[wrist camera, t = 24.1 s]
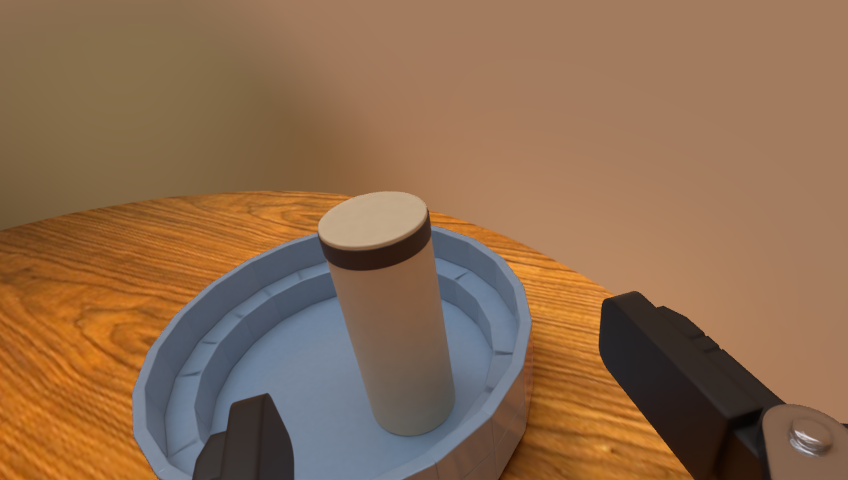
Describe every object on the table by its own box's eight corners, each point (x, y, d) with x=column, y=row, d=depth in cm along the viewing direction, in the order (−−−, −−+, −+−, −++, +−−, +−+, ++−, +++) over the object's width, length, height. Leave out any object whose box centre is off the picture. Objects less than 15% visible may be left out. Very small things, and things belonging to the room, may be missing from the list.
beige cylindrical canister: (442, 357, 29) (414, 181, 22) (468, 421, 24) (441, 228, 18) (365, 379, 28) (313, 204, 22) (378, 449, 24) (318, 258, 18)
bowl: (464, 255, 39) (458, 197, 36) (610, 492, 21) (621, 414, 18) (210, 321, 36) (181, 264, 34) (127, 659, 18) (50, 599, 15)
